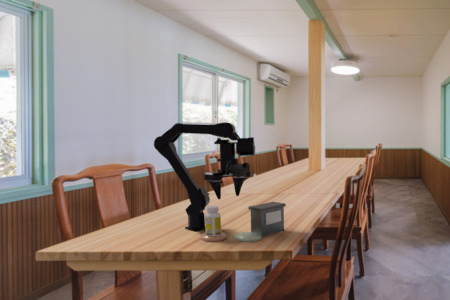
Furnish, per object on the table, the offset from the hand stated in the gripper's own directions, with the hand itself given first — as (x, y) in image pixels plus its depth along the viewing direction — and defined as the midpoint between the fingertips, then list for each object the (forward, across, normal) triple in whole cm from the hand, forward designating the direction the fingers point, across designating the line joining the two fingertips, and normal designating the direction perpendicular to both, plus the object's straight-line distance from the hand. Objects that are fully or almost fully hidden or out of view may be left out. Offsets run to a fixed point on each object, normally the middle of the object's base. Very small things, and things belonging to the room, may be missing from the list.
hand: (228, 197), depth 140 cm
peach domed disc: (+12, -12, -5) cm, 18 cm away
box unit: (+12, +6, -14) cm, 19 cm away
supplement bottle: (+11, -12, -5) cm, 17 cm away
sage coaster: (+12, -4, -14) cm, 19 cm away
